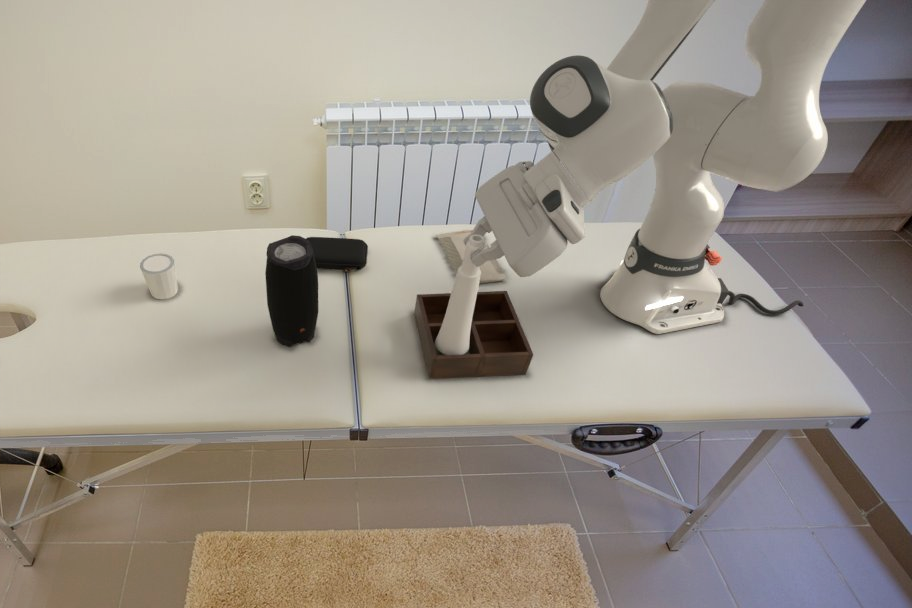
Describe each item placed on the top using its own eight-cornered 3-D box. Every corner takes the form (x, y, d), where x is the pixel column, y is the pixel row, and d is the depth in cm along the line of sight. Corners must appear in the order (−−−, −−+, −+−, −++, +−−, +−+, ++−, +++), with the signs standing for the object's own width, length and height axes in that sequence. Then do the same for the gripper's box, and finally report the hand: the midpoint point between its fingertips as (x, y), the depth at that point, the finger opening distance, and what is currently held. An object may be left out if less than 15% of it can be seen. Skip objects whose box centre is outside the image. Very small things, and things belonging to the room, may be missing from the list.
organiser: (500, 310, 113) (506, 290, 109) (525, 374, 102) (533, 354, 98) (413, 314, 113) (416, 294, 109) (429, 379, 102) (433, 359, 98)
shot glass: (159, 305, 116) (151, 278, 111) (141, 290, 119) (133, 262, 114) (187, 291, 119) (180, 263, 114) (169, 276, 122) (162, 248, 117)
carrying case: (296, 273, 122) (365, 277, 121) (296, 262, 120) (366, 265, 118) (302, 245, 129) (367, 248, 128) (302, 233, 127) (368, 236, 125)
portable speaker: (318, 349, 107) (317, 263, 92) (269, 349, 107) (259, 263, 92) (318, 318, 112) (317, 233, 98) (271, 319, 113) (263, 233, 98)
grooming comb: (435, 235, 130) (435, 233, 129) (478, 231, 131) (478, 228, 130) (461, 286, 118) (462, 283, 118) (508, 281, 119) (508, 278, 118)
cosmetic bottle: (447, 328, 104) (471, 222, 88) (475, 344, 102) (505, 237, 85) (428, 345, 102) (448, 238, 85) (456, 362, 99) (483, 255, 82)
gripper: (517, 142, 85) (442, 205, 92) (567, 216, 72) (475, 283, 79) (538, 169, 88) (464, 228, 96) (589, 245, 75) (499, 306, 82)
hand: (469, 253), depth 87 cm, fingers closed on cosmetic bottle, 3 cm apart
